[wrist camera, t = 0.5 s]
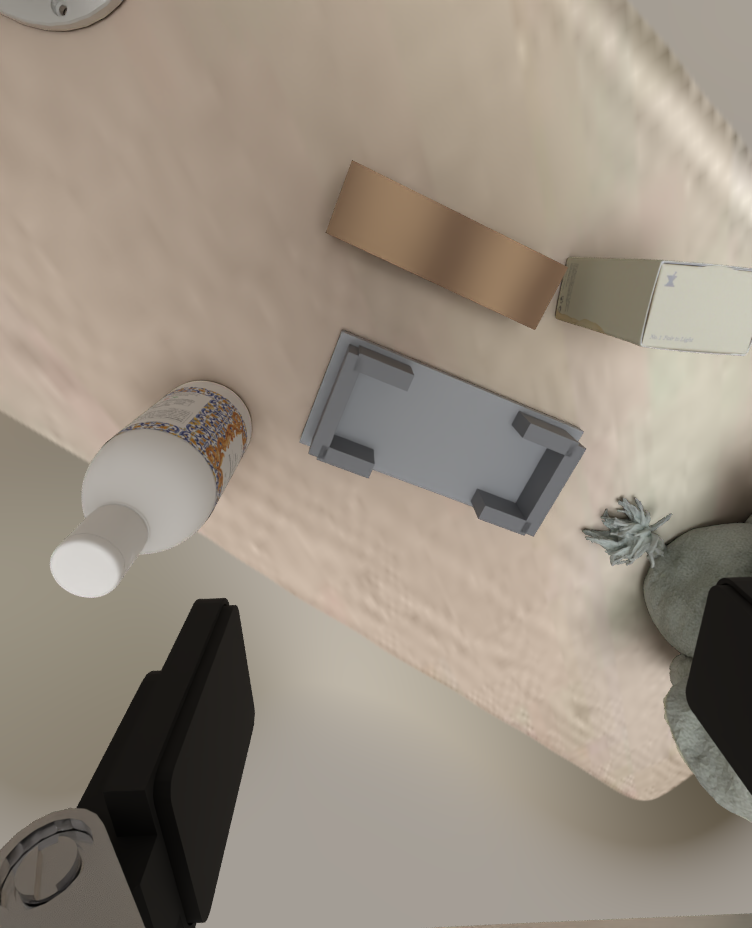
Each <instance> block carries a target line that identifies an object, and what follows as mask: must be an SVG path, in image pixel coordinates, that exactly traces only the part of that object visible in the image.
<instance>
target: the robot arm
mask: <svg viewBox="0 0 752 928" xmlns="http://www.w3.org/2000/svg"><path fill="white" fill-rule="evenodd" d="M122 1H123V0H0V13H1V14H3V15H5V16H7V17H9V18H11V19H13V20H15V21H17V22H19V23H22V24H24V25H27V26H31V27H35V28H39V29H43V30H55V31H68V30H73V29H78V28H82V27H87V26H89V25H91V24H93V23H95V22H97V21H99V20H101V19H103V18H105V17H106V16H107V15H108V14H109V13H110V12H112V11H113V10H114V9H115V8H116V7H117V6H119V5H120V4H121V2H122ZM65 8H67V12H66V14H65V15H63V11H64V9H65ZM685 693H686V700H687V703H688V705H689V707H690V709H691V711H692V712H693V714H694V715H695V716H696V718H697V719H698V721H699V722H700V723H701V725H702V726H703V728H704V729H705V731H706V732H707V733H708V735H709V736H710V738H711V739H712V740H713V742H714V743H715V745H716V746H717V747H718V749H719V750H720V752H721V753H722V754H723V756H724V757H725V759H726V760H727V761H728V763H729V764H730V766H731V767H732V769H733V770H734V771H735V773H736V774H737V776H738V777H739V778H740V780H741V781H742V783H743V784H744V785H745V787H746V788H747V790H748V791H749V792H750V794H751V795H752V577H728V578H722V579H720V580H719V581H718V582H717V584H716V585H715V586H712V587H711V588H710V590H709V592H708V596H707V600H706V605H705V609H704V613H703V617H702V622H701V626H700V630H699V634H698V638H697V643H696V647H695V651H694V655H693V660H692V664H691V668H690V672H689V677H688V681H687V685H686V691H685ZM254 716H255V710H254V702H253V696H252V690H251V684H250V677H249V671H248V665H247V659H246V653H245V646H244V640H243V634H242V627H241V621H240V615H239V610H238V607H237V606H236V605H229V602H228V600H227V599H226V598H216V599H198V600H196V601H195V603H194V604H193V606H192V609H191V611H190V613H189V615H188V617H187V619H186V621H185V623H184V625H183V627H182V629H181V631H180V633H179V635H178V637H177V639H176V641H175V643H174V645H173V648H172V649H171V652H170V654H169V656H168V658H167V660H166V662H165V664H164V666H163V668H162V670H161V671H151V672H150V673H148V674H147V675H146V677H145V678H144V679H143V681H142V683H141V685H140V687H139V689H138V691H137V693H136V694H135V696H134V698H133V700H132V702H131V704H130V706H129V708H128V710H127V712H126V714H125V715H124V717H123V719H122V721H121V723H120V725H119V727H118V729H117V731H116V733H115V735H114V737H113V739H112V741H111V742H110V745H109V746H108V748H107V750H106V752H105V754H104V756H103V758H102V760H101V762H100V764H99V766H98V768H97V770H96V772H95V773H94V775H93V777H92V779H91V781H90V783H89V785H88V787H87V789H86V791H85V793H84V794H83V796H82V798H81V801H80V802H79V804H78V806H77V808H68V809H64V810H60V811H56V812H52V813H50V814H48V815H46V816H44V817H42V818H39V819H38V820H35V821H33V822H32V823H31V824H29V825H28V826H27V827H25V828H24V829H22V830H21V831H20V832H18V833H17V834H16V835H15V836H14V837H13V838H12V839H11V840H10V841H9V842H8V843H7V844H6V845H5V846H4V847H3V848H2V849H1V850H0V928H195V926H196V923H203V922H205V921H206V920H207V918H208V916H209V913H210V909H211V905H212V901H213V897H214V893H215V888H216V884H217V880H218V876H219V871H220V867H221V863H222V858H223V854H224V850H225V846H226V842H227V837H228V833H229V829H230V824H231V820H232V816H233V812H234V807H235V803H236V799H237V795H238V791H239V786H240V782H241V778H242V774H243V769H244V765H245V761H246V757H247V752H248V748H249V744H250V740H251V735H252V731H253V726H254ZM436 928H752V913H750V914H724V915H700V916H679V917H678V916H676V917H653V918H631V919H630V918H629V919H607V920H587V921H586V920H585V921H561V922H540V923H517V924H497V925H476V926H457V927H436Z"/></svg>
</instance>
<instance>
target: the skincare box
mask: <svg viewBox="0 0 752 928" xmlns="http://www.w3.org/2000/svg"><path fill="white" fill-rule="evenodd" d="M566 266H567V267H568V269H567V271H566V273H565V275H564V276H563V281H562V285H561V290H560V295H559V300H558V305H557V310H556V316H555V317H556V319H559V320H562V321H565V322H568V323H572V324H575V325H578V326H581V327H585V328H588V329H591V330H594V331H597V332H600V333H603V334H606V335H609V336H613V337H616V338H619V339H622V340H625V341H628V342H631V343H633V344H636V345H639V346H641V347H647V348H654V349H662V350H671V351H681V352H693V353H705V354H719V355H738V356H745V355H747V353H748V351H749V348H750V346H751V343H752V268H744V267H736V266H728V265H718V264H706V263H695V262H681V261H668V260H649V259H615V258H580V257H569V258H568V259H567V264H566Z"/></svg>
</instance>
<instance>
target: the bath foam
mask: <svg viewBox="0 0 752 928" xmlns="http://www.w3.org/2000/svg"><path fill="white" fill-rule="evenodd" d="M251 434H252V423H251V418H250V414H249V412H248V409H247V408H246V406H245V404H244V403H243V401H242V400H241V399H240V398H239V397H238V396H237V395H236V394H235V393H234V392H233V391H231V390H230V389H228V388H227V387H225V386H223V385H220V384H217V383H214V382H210V381H192V382H188V383H185V384H182V385H180V386H178V387H177V388H175V389H174V390H172V391H171V392H170V393H169V394H167V395H166V396H164V397H163V398H162V399H161V400H159V401H158V402H157V403H155V404H154V405H153V406H152V407H150V408H149V409H148V410H147V411H145V412H144V413H143V414H142V415H140V416H139V417H138V418H137V419H135V420H134V421H133V422H131V423H130V424H129V425H128V426H126V427H125V428H124V429H123V430H121V431H120V432H119V433H118V434H116V435H115V436H114V437H112V438H111V439H110V440H109V441H107V442H106V443H105V444H104V445H103V446H102V448H101V449H100V450H99V451H98V453H97V454H96V455H95V457H94V458H93V460H92V461H91V463H90V465H89V467H88V469H87V471H86V474H85V477H84V481H83V485H82V508H83V512H84V516H85V519H84V520H83V521H82V522H81V523H80V524H79V525H78V526H77V527H76V528H75V529H74V530H73V531H72V532H71V533H70V534H69V535H68V536H67V537H66V538H65V539H64V540H63V541H62V542H61V543H60V544H59V545H58V546H57V548H56V549H55V550H54V552H53V554H52V556H51V560H50V569H51V572H52V575H53V577H54V579H55V580H56V582H57V583H58V584H59V585H60V586H61V587H62V588H64V589H65V590H67V591H68V592H70V593H72V594H75V595H77V596H81V597H88V598H95V597H100V596H104V595H106V594H108V593H109V592H111V591H112V590H114V588H115V587H117V585H118V584H119V583H120V581H121V580H122V578H123V577H124V575H125V574H126V572H127V571H128V570H129V568H130V567H131V565H132V564H133V562H134V561H135V560H136V558H137V557H138V556H139V554H150V553H156V552H161V551H164V550H167V549H170V548H173V547H175V546H177V545H179V544H180V543H182V542H184V541H185V540H187V539H188V538H190V537H191V536H192V535H193V534H194V533H196V532H197V531H198V530H199V529H200V528H201V527H202V525H203V524H204V523H205V522H206V521H207V520H208V518H209V517H210V515H211V513H212V512H213V510H214V508H215V506H216V504H217V502H218V501H219V499H220V497H221V495H222V493H223V491H224V489H225V488H226V486H227V484H228V482H229V480H230V478H231V477H232V475H233V473H234V471H235V469H236V467H237V466H238V464H239V462H240V460H241V458H242V456H243V454H244V452H245V450H246V449H247V447H248V444H249V442H250V439H251Z"/></svg>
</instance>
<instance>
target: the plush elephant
mask: <svg viewBox="0 0 752 928" xmlns="http://www.w3.org/2000/svg"><path fill="white" fill-rule="evenodd" d="M635 501H636V504H637V506H638V508H639V509H640V510H638V509H637V508H636V506H634V505H631V504H630V503H629V502H628V501H627V499H626V498H623V501H622V502H621V501H620V500H618V504H619V505H621V506H623V508H624V509H626V510H617V512H623V513H626V514H627V515H628V517H629V518H630V520H629V519H618V518H616V517H615V518H610V517H609V515H608V513H607V510H608V509H606V510H605V513H604V515H603V516H601V518H603V519H605V522H603V520H602V522H603V524H604V525H605V526H606V527H608V528H609V529H610V530H611V531H595V530H587V529H584V530H582V532H584V533H585V535H589V536H592V537H587V536H585V538H586V540H590V541H591V542H592V543H593V542H595V543H598V544H600V545H601V546H602V547H604V548H605V549H606V550H607V551H605V552H606V553H608V555H611V556H610V563H611V565H612V566H614V565H615V564H623V563H626V565H630V564H632V563H633V562H634V561H635V559H637V558H639V557H640V556H642V554H643V553H645V552H647V553H648V554H649V555H648V556H647V559H648V560H649V562H650V568H649V571H648V573H647V575H646V577H645V581H644V588H643V590H644V598H645V603H646V606H647V608H648V611H649V614H650V616H651V618H652V621H653V622H654V623H655V625H656V627H657V628H658V630H659V631H660V633H661V634H662V635H663V636H664V638H665V639H666V641H668V642H669V643H670V645H671V646H672V647H674V648H675V649H677V650H678V651H679V652H680V653H681V654H680V655H678V656H677V657H675V658H674V659H673V661H672V663H671V664H670V681H671V683H672V685H673V686H672V687H671V688H670V691H669V692H668V694H667V695H666V697H665V698H664V701H663V703H664V706H665V707H664V709H665V714H664V718H665V720H666V722H667V724H668V725H669V726H670V730H671V733H672V735H673V737H672V738H673V739H674V741H675V743H676V745H677V750H678V751H679V753H680V755H681V757H682V758H683V760H684V762H685V763H686V764H687V766H688V767H689V768H690V770H691V771H692V772H693V773H694V775H695V776H696V778H697V780H698V781H699V782H700V784H701V785H702V786H703V788H704V789H705V790H706V791H707V792H708V793H709V794H710V795H711V796H712V797H713V798H714V799H715V800H716V802H717V803H718V804H720V805H721V806H723V807H724V808H726V809H727V810H729V811H730V812H732V813H735V814H737V815H739V816H741V817H744V818H745V819H747V820H749V821H750V822H751V823H752V795H751V794H750V792H749V791H748V790H747V788H746V787H745V785H744V784H743V783H742V781H741V780H740V778H739V777H738V776H737V774H736V773H735V771H734V770H733V769H732V767H731V766H730V764H729V763H728V761H727V760H726V759H725V757H724V756H723V754H722V753H721V752H720V750H719V749H718V747H717V746H716V745H715V743H714V742H713V740H712V739H711V738H710V736H709V735H708V733H707V732H706V731H705V729H704V728H703V726H702V725H701V723H700V722H699V721H698V719H697V718H696V716H695V715H694V714H693V712H692V711H691V709H690V707H689V705H688V703H687V700H686V693H685V691H686V685H687V681H688V677H689V672H690V668H691V664H692V660H693V655H694V651H695V647H696V643H697V638H698V634H699V630H700V626H701V622H702V617H703V613H704V609H705V605H706V600H707V596H708V592H709V590H710V588H711V587H712V586H715V585H716V584H717V582H718V581H719V580H720V579H722V578H728V577H752V515H751V516H750V517H749V518H748V519H747V520H746V522H745V523H731V524H721V525H714V526H709V527H703V528H696V529H692V530H690V531H688V532H686V533H684V534H683V535H681V536H680V537H678V538H676V539H675V540H674V541H673V542H671V543H670V544H669V545H668V546H665V544H664V540H663V539H662V538H661V537H659V536H658V535H657V534H655V533H652V531H654V530H656V529H657V528H658V527H659V526H661V525H662V524H664V523H665V522H666V521H668V520H669V519H670V517H671V515H673V514H672V513H670V514H669V515H667V516H666V518H665V517H664V518H663V519H662V520H660V521H659V522H658V523H656V524H655V525H651V526H649V522H650V519H651V518H650V513H649V512H648V511H647V510H645V513H646V515H644V512H643V506H642V504H641V501H639V500H638V499H637V498H635ZM663 520H664V521H663ZM593 537H594V538H593ZM623 558H629V559H628V560H626V561H621V562H620V560H622V559H623ZM616 562H617V563H616Z"/></svg>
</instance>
